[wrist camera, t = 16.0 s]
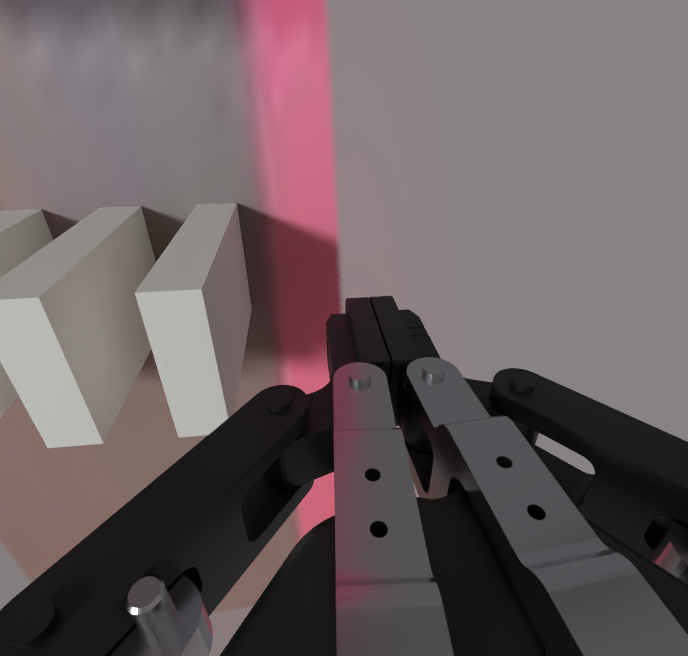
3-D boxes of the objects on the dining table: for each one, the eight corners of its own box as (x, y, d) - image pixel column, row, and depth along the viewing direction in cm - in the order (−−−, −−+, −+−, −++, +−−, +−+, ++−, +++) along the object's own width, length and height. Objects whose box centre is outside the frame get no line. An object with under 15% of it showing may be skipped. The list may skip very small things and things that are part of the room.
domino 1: (197, 204, 17) (134, 292, 10) (237, 202, 17) (201, 289, 10) (217, 310, 20) (178, 437, 13) (251, 308, 20) (231, 432, 13)
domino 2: (99, 207, 17) (-33, 300, 10) (141, 206, 17) (38, 297, 10) (133, 315, 19) (47, 447, 12) (169, 313, 19) (103, 443, 13)
